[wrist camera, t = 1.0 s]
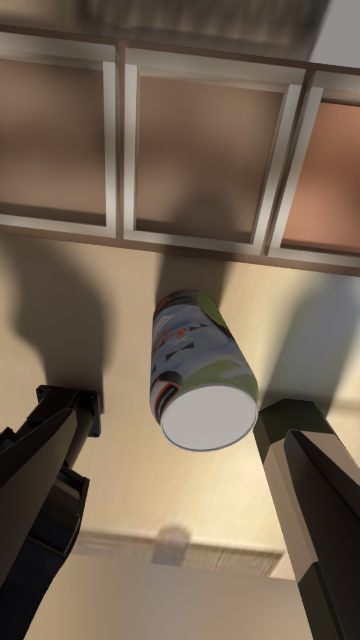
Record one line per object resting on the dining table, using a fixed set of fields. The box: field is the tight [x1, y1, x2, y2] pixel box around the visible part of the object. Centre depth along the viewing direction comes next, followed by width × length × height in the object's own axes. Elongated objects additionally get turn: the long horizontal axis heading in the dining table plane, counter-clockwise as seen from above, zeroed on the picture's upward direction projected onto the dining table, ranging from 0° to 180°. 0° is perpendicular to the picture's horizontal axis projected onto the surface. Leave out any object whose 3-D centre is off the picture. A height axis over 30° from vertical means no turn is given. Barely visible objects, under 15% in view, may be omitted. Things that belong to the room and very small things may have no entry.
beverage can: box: [150, 290, 259, 452], centre depth 16 cm, size 6×7×12 cm
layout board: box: [0, 25, 360, 277], centre depth 16 cm, size 12×33×2 cm, turn 84°
